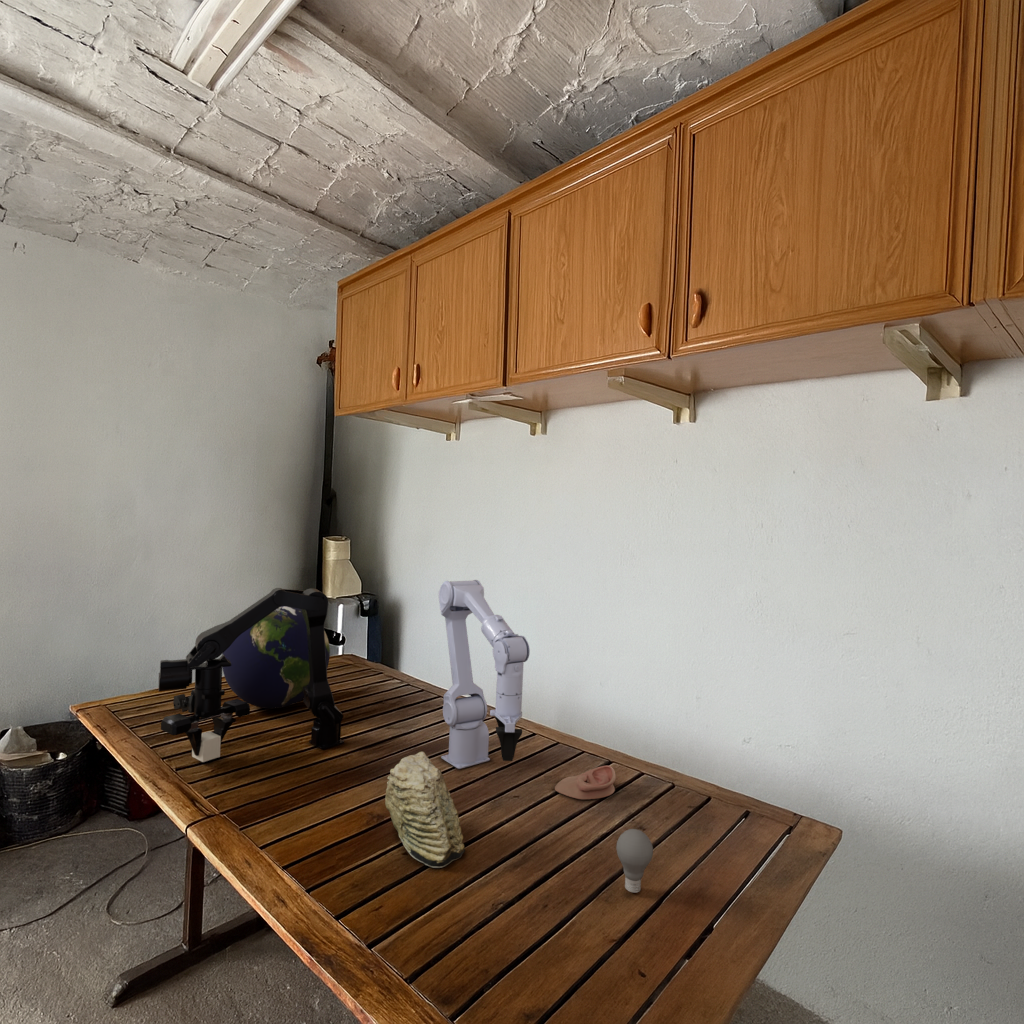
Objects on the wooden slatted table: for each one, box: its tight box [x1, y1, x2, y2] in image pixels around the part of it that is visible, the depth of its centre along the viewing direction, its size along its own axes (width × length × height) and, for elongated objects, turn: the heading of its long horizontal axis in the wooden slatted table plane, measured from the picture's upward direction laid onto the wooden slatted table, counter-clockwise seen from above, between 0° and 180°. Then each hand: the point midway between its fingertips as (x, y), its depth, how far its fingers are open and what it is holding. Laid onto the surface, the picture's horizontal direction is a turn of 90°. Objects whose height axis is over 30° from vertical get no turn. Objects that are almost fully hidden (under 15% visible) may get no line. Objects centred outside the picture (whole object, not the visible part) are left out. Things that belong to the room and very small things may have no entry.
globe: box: [221, 606, 331, 709], centre depth 188 cm, size 30×30×30 cm
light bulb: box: [615, 828, 654, 894], centre depth 106 cm, size 6×6×10 cm
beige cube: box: [191, 730, 222, 763], centre depth 148 cm, size 4×5×5 cm
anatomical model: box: [554, 765, 617, 800], centre depth 143 cm, size 13×4×12 cm
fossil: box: [384, 751, 466, 869], centre depth 117 cm, size 9×18×15 cm, turn 46°
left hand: (206, 752), depth 148 cm, fingers closed on beige cube, 4 cm apart
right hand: (506, 753), depth 139 cm, fingers open, 7 cm apart
